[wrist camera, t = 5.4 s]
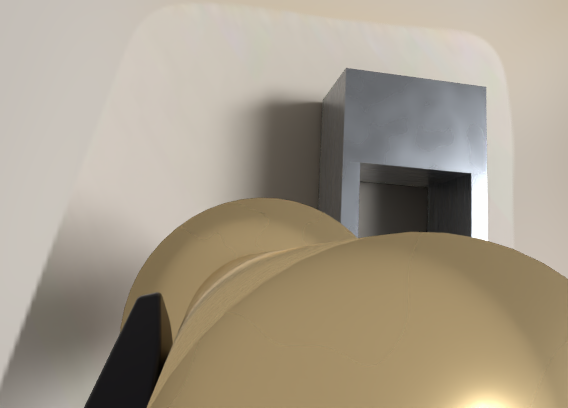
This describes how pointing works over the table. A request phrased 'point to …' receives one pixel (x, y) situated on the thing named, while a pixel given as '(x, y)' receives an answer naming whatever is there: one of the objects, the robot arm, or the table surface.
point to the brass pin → (351, 316)
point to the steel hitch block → (406, 147)
